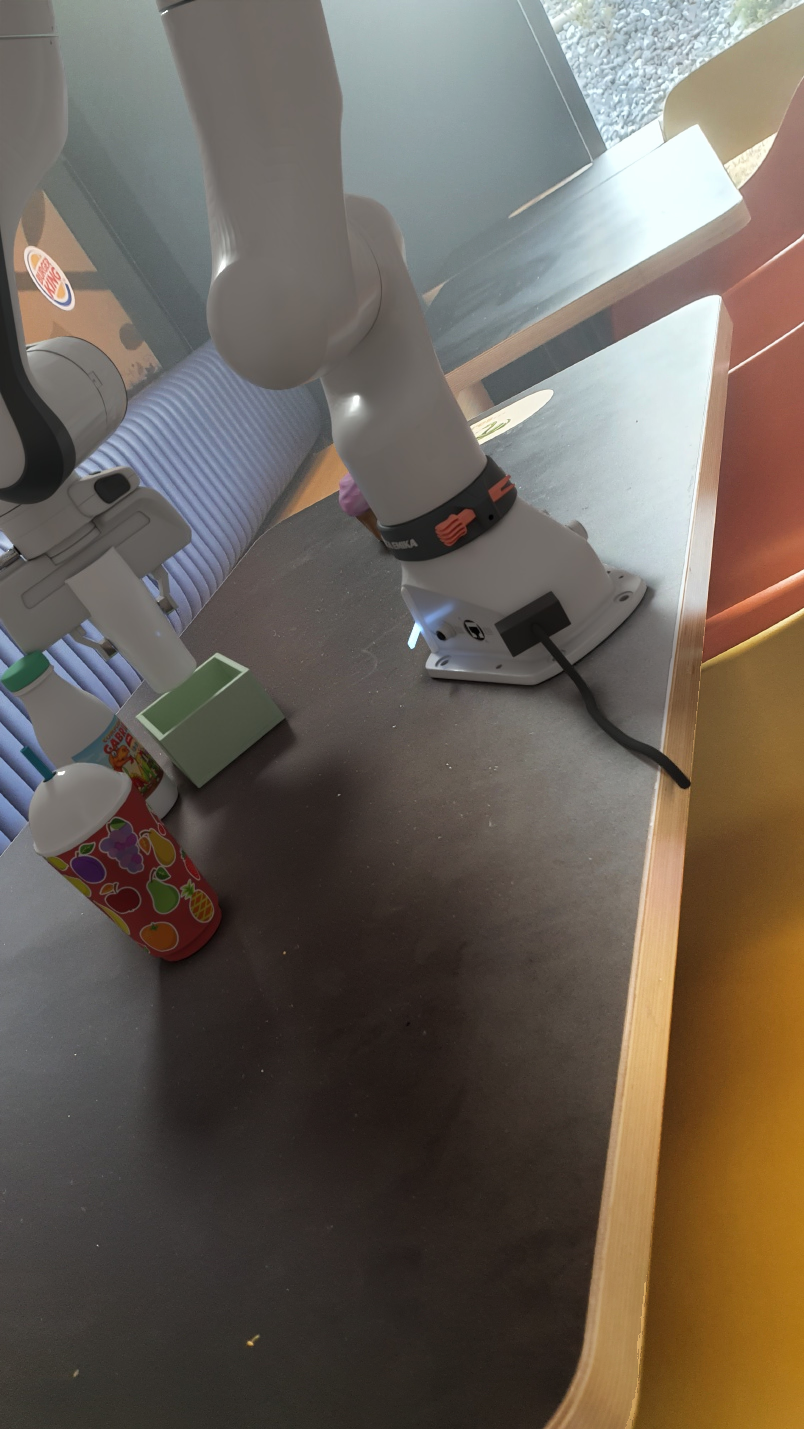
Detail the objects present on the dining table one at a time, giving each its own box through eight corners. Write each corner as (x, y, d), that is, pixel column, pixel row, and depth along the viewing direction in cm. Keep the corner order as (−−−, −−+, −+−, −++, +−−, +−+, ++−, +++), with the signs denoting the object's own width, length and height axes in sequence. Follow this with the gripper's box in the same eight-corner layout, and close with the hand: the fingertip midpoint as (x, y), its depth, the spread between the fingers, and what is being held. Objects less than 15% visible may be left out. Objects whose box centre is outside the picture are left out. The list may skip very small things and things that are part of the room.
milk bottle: (116, 852, 96) (-23, 701, 87) (120, 815, 103) (-9, 672, 94) (181, 810, 96) (48, 655, 87) (180, 776, 103) (57, 629, 94)
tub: (285, 717, 100) (249, 669, 97) (199, 788, 98) (159, 740, 95) (250, 696, 110) (217, 652, 107) (171, 760, 108) (134, 716, 105)
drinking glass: (191, 687, 96) (95, 564, 89) (141, 708, 99) (45, 591, 92) (214, 651, 101) (125, 533, 95) (166, 672, 104) (77, 559, 98)
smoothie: (201, 887, 82) (45, 709, 73) (255, 901, 75) (91, 709, 67) (132, 965, 77) (-42, 787, 69) (183, 986, 71) (-2, 794, 62)
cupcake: (360, 542, 135) (322, 481, 130) (411, 507, 135) (375, 445, 131) (374, 555, 127) (334, 491, 122) (429, 519, 127) (391, 453, 123)
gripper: (-39, 587, 86) (62, 703, 92) (145, 457, 91) (229, 576, 97) (-43, 581, 92) (53, 691, 98) (131, 459, 97) (211, 571, 103)
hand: (142, 633), depth 98 cm, fingers closed on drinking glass, 6 cm apart
